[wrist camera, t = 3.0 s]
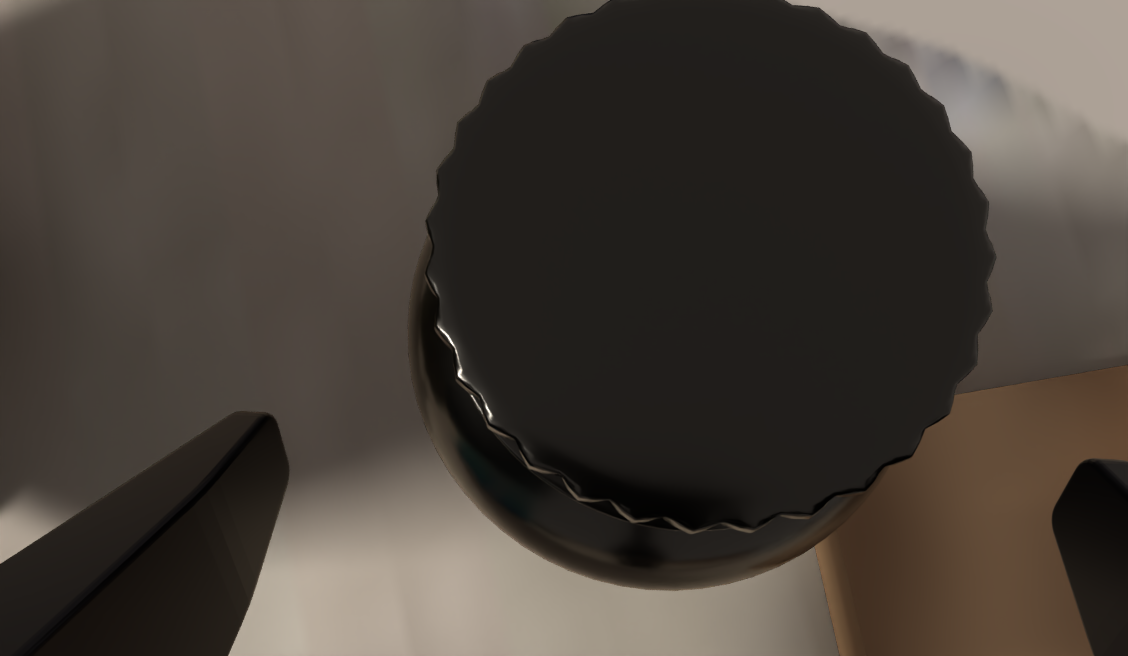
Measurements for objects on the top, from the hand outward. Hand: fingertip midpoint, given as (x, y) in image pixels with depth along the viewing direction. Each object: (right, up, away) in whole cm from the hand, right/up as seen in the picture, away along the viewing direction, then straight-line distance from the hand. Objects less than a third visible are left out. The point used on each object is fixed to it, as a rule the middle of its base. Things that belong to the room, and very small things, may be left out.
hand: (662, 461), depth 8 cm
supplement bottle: (0, 0, +10) cm, 10 cm away
